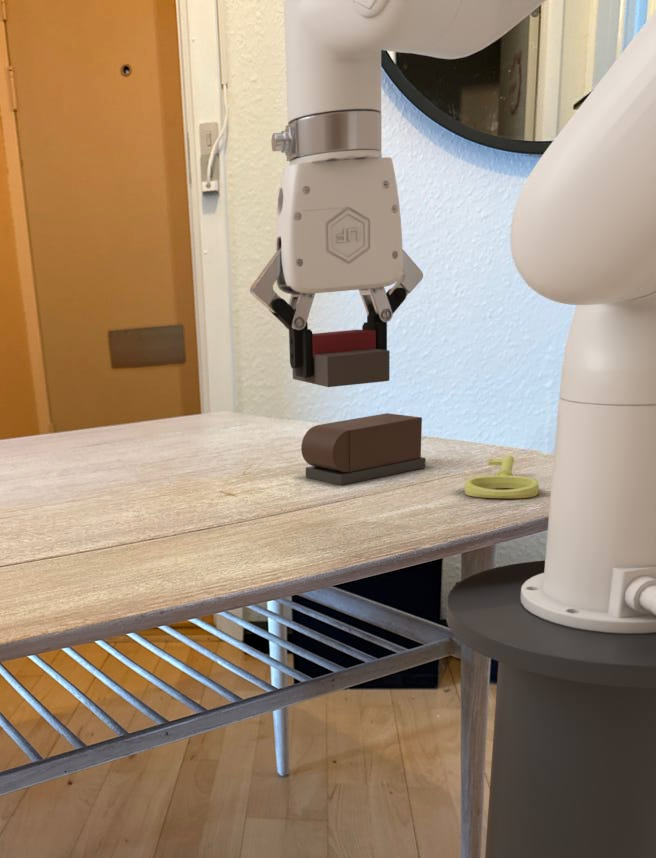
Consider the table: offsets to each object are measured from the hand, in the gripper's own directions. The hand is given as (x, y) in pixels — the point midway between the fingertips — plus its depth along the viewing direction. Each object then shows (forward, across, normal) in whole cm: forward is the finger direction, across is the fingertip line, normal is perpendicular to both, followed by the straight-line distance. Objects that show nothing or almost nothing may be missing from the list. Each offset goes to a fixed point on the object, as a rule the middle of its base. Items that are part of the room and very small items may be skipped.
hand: (338, 371), depth 81 cm
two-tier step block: (+1, 0, 0) cm, 1 cm away
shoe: (+14, +12, +24) cm, 30 cm away
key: (+15, +22, +10) cm, 28 cm away
